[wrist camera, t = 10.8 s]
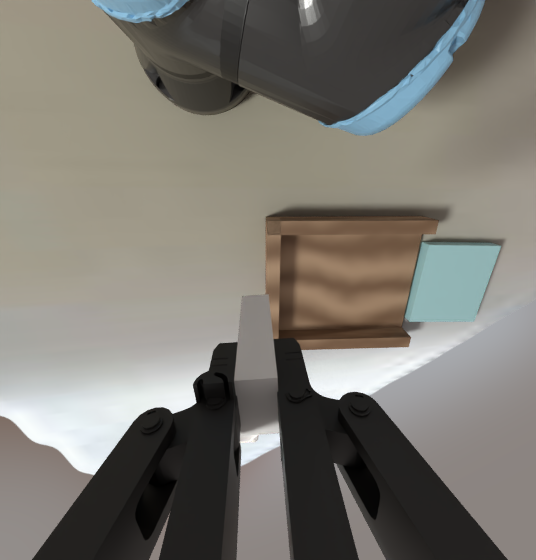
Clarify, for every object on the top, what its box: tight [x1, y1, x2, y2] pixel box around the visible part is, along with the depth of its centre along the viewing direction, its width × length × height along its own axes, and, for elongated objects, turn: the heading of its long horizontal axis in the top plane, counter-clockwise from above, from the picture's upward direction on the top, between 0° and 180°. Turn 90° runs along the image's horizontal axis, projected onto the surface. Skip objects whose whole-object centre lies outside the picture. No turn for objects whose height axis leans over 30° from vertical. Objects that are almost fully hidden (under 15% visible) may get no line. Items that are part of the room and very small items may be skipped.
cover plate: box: [404, 242, 501, 322], centre depth 47 cm, size 14×12×2 cm
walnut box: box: [266, 216, 439, 350], centre depth 45 cm, size 22×25×4 cm
